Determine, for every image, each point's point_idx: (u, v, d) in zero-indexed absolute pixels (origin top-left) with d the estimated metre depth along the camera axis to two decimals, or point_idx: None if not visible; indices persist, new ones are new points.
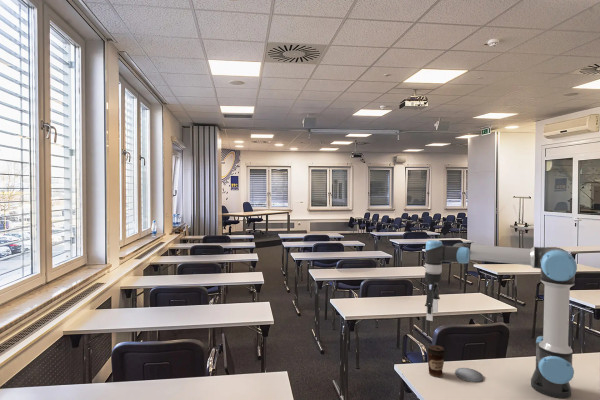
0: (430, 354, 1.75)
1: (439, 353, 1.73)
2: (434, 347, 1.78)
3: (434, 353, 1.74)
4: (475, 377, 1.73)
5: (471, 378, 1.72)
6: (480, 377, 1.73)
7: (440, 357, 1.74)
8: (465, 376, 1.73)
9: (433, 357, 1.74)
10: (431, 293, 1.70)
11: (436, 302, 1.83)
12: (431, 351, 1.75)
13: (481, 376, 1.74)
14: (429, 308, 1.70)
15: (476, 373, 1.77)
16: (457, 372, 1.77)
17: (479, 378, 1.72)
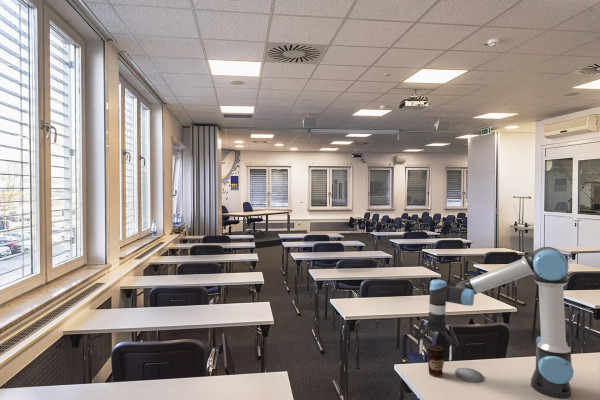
0: (430, 354, 1.75)
1: (439, 353, 1.73)
2: (434, 347, 1.78)
3: (434, 353, 1.74)
4: (475, 377, 1.73)
5: (471, 378, 1.72)
6: (480, 377, 1.73)
7: (440, 357, 1.74)
8: (465, 376, 1.73)
9: (433, 357, 1.74)
10: None
11: None
12: (431, 351, 1.75)
13: (481, 376, 1.74)
14: (418, 339, 1.81)
15: (476, 373, 1.77)
16: (457, 372, 1.77)
17: (479, 378, 1.72)
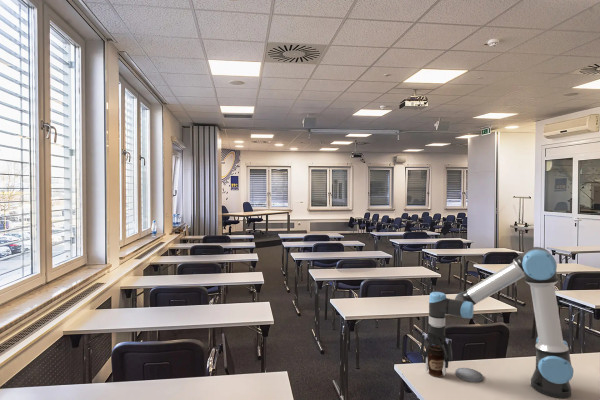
0: (430, 354, 1.75)
1: (439, 353, 1.73)
2: (434, 347, 1.78)
3: (434, 353, 1.74)
4: (475, 377, 1.73)
5: (471, 378, 1.72)
6: (480, 377, 1.73)
7: (440, 357, 1.74)
8: (465, 376, 1.73)
9: (433, 357, 1.74)
10: None
11: None
12: (431, 351, 1.75)
13: (481, 376, 1.74)
14: (424, 357, 1.80)
15: (476, 373, 1.77)
16: (457, 372, 1.77)
17: (479, 378, 1.72)
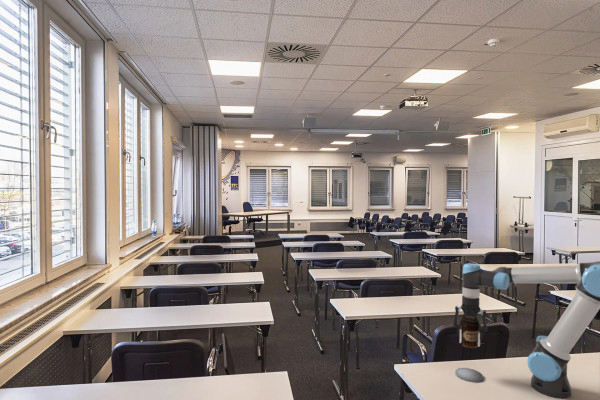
0: (464, 325, 1.74)
1: (474, 324, 1.72)
2: (468, 319, 1.77)
3: (469, 324, 1.72)
4: (475, 377, 1.73)
5: (471, 378, 1.72)
6: (480, 377, 1.73)
7: (475, 328, 1.72)
8: (465, 376, 1.73)
9: (468, 328, 1.73)
10: (455, 314, 1.78)
11: (478, 335, 1.73)
12: (466, 322, 1.74)
13: (481, 376, 1.74)
14: (457, 329, 1.79)
15: (476, 373, 1.77)
16: (457, 372, 1.77)
17: (479, 378, 1.72)
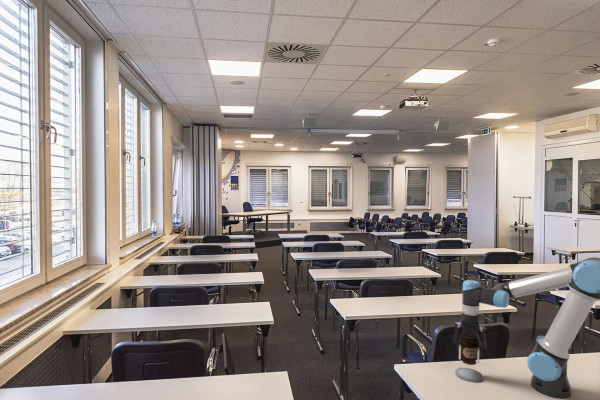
0: (464, 342, 1.74)
1: (473, 341, 1.72)
2: (467, 335, 1.77)
3: (468, 341, 1.73)
4: (475, 377, 1.73)
5: (471, 378, 1.72)
6: (480, 377, 1.73)
7: (474, 345, 1.73)
8: (465, 376, 1.73)
9: (467, 345, 1.73)
10: None
11: None
12: (465, 339, 1.74)
13: (481, 376, 1.74)
14: None
15: (476, 373, 1.77)
16: (457, 372, 1.77)
17: (479, 378, 1.72)
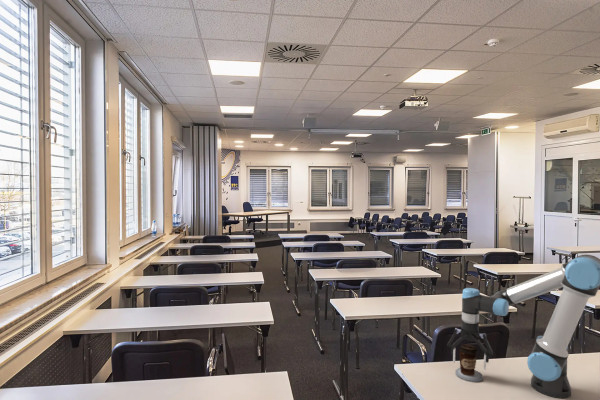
0: (462, 353, 1.74)
1: (472, 352, 1.72)
2: (466, 346, 1.77)
3: (467, 352, 1.73)
4: (475, 377, 1.73)
5: (471, 378, 1.72)
6: (480, 377, 1.73)
7: (473, 356, 1.73)
8: (465, 376, 1.73)
9: (466, 356, 1.73)
10: (452, 335, 1.79)
11: (484, 358, 1.72)
12: (463, 350, 1.74)
13: (481, 376, 1.74)
14: (451, 349, 1.80)
15: (476, 373, 1.77)
16: (457, 372, 1.77)
17: (479, 378, 1.72)
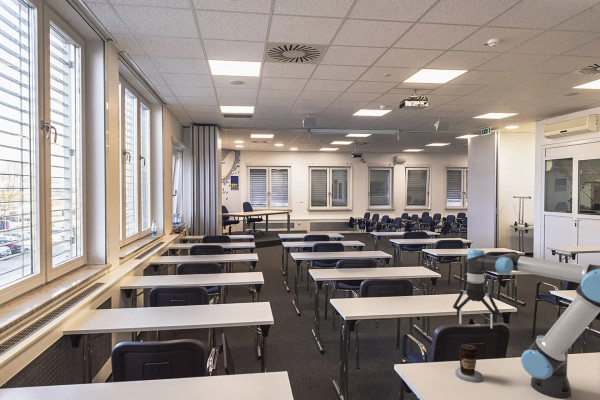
0: (462, 353, 1.74)
1: (472, 352, 1.72)
2: (466, 346, 1.77)
3: (467, 352, 1.73)
4: (475, 377, 1.73)
5: (471, 378, 1.72)
6: (480, 377, 1.73)
7: (473, 356, 1.73)
8: (465, 376, 1.73)
9: (466, 356, 1.73)
10: None
11: None
12: (464, 350, 1.74)
13: (481, 376, 1.74)
14: None
15: (476, 373, 1.77)
16: (457, 372, 1.77)
17: (479, 378, 1.72)
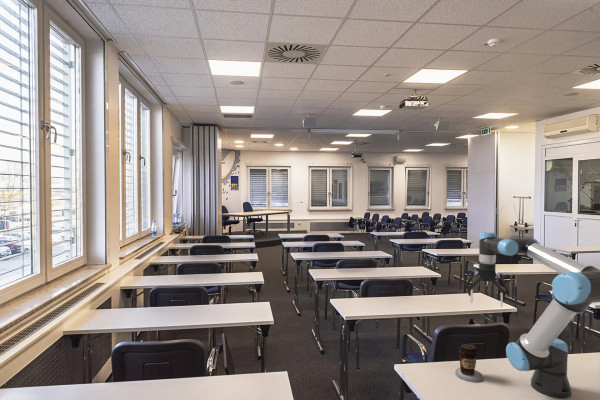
0: (462, 353, 1.74)
1: (472, 352, 1.72)
2: (466, 346, 1.77)
3: (467, 352, 1.73)
4: (475, 377, 1.73)
5: (471, 378, 1.72)
6: (480, 377, 1.73)
7: (473, 356, 1.73)
8: (465, 376, 1.73)
9: (466, 356, 1.74)
10: (470, 277, 1.89)
11: None
12: (463, 350, 1.74)
13: (481, 376, 1.74)
14: (468, 290, 1.90)
15: (476, 373, 1.77)
16: (457, 372, 1.77)
17: (479, 378, 1.72)
